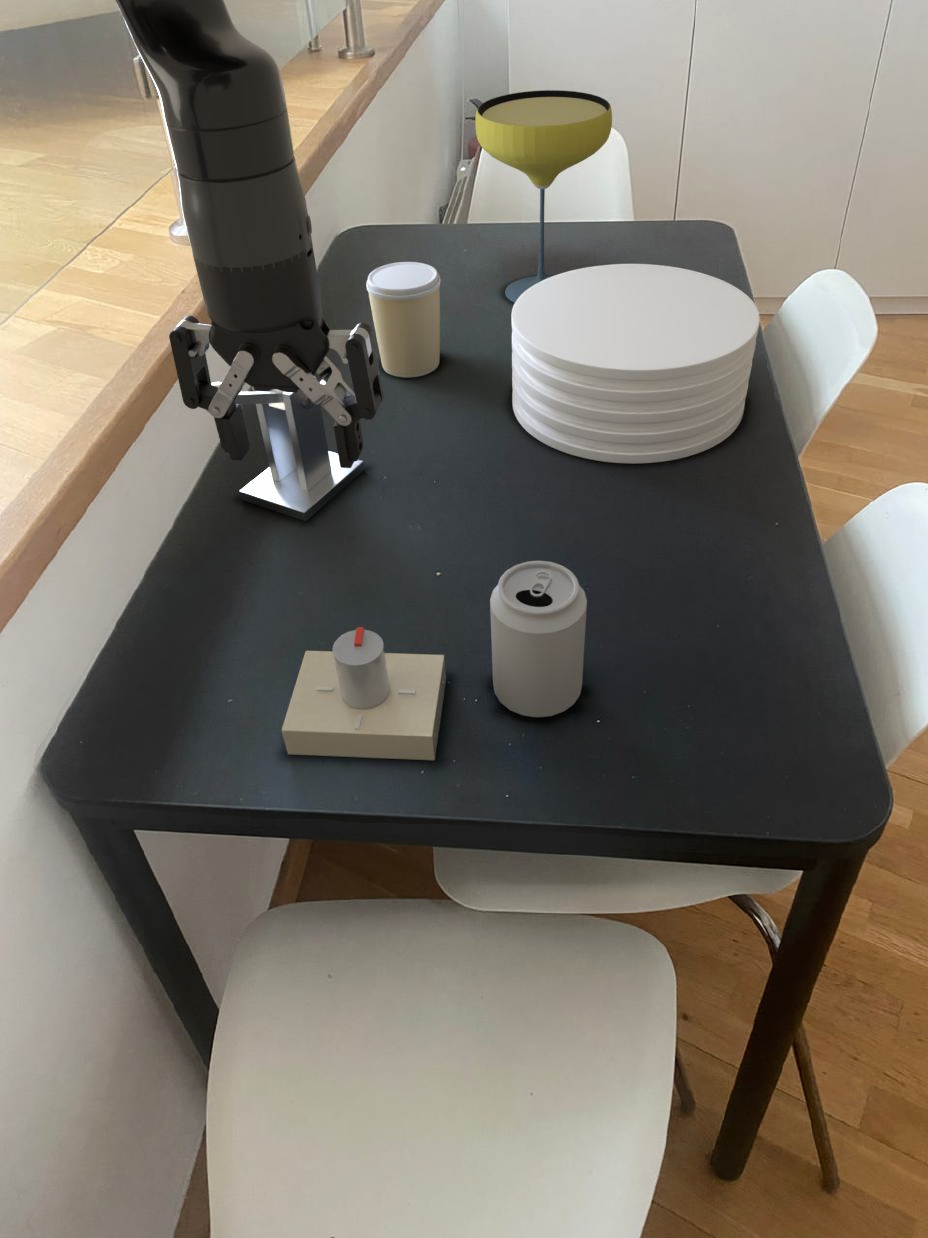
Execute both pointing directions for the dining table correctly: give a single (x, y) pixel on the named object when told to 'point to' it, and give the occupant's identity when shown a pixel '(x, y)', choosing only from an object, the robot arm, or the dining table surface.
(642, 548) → the dining table surface
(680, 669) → the dining table surface
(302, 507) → the tap bracket
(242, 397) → the tap lever
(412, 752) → the panel
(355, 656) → the dial
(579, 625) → the can
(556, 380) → the plate stack
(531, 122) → the cocktail glass
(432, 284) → the coffee cup
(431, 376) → the dining table surface
